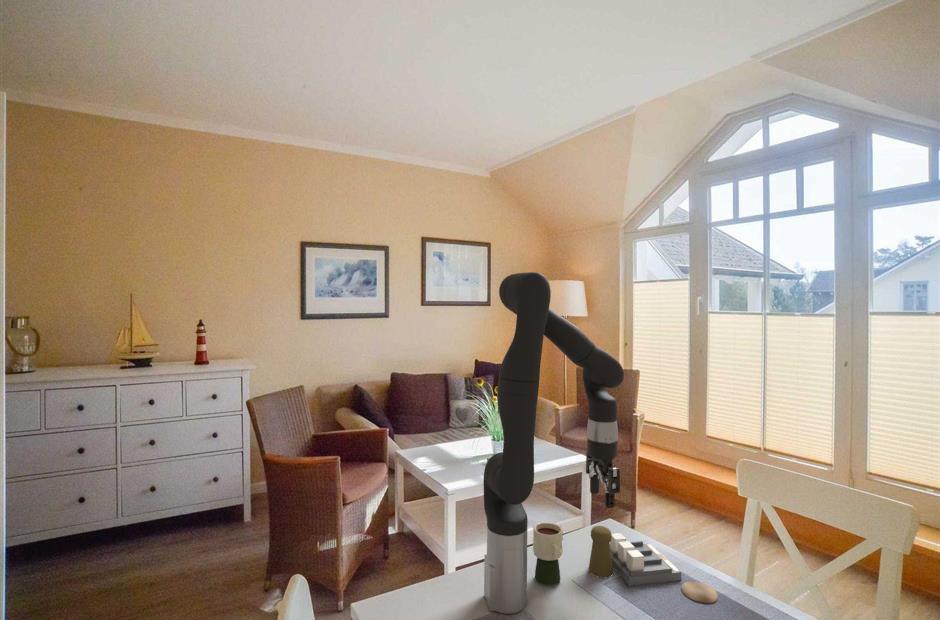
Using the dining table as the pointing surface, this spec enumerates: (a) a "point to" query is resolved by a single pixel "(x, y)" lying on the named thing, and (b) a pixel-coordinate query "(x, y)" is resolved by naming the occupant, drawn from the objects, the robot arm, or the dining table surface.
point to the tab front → (635, 560)
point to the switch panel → (647, 566)
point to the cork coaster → (699, 592)
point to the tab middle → (624, 550)
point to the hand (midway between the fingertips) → (601, 500)
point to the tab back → (616, 541)
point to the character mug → (547, 552)
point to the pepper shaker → (601, 552)
